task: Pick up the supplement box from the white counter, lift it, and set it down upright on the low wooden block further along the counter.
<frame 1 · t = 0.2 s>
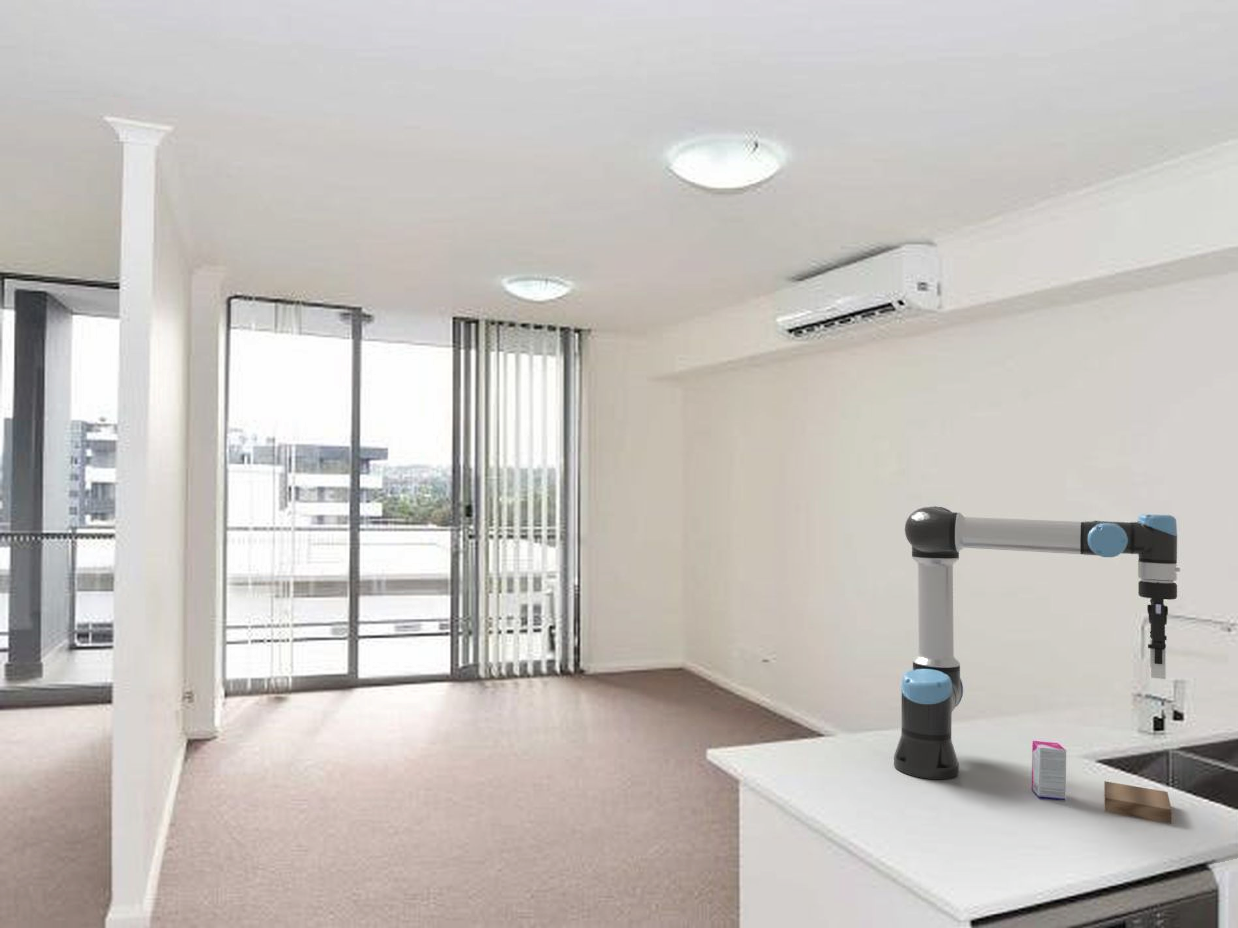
hand: (1157, 672, 189), 28 cm above the counter, fingers open, 13 cm apart
wooden block: (1136, 808, 179), on the counter
supplement box: (1048, 796, 185), on the counter
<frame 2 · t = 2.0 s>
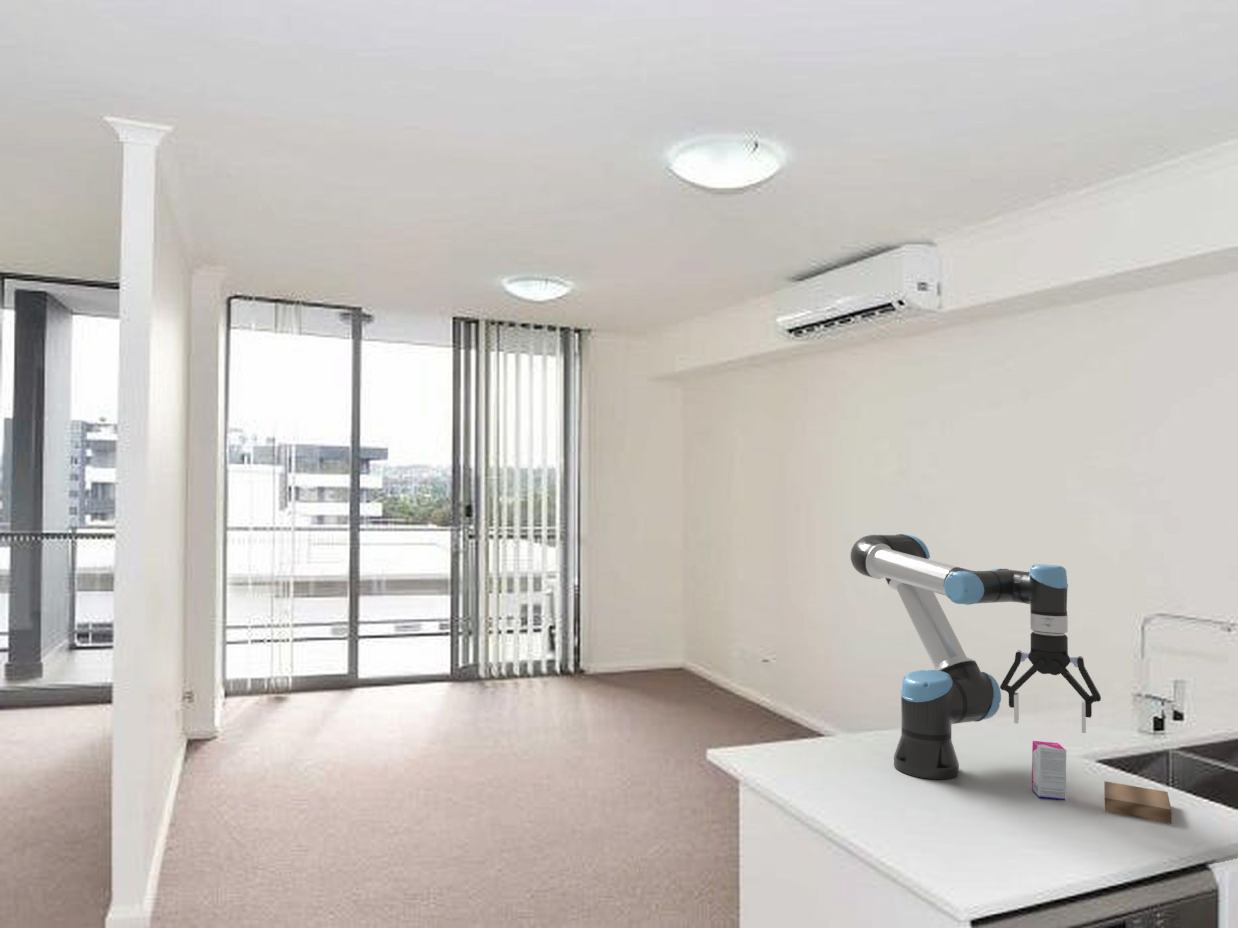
hand: (1049, 726, 186), 16 cm above the counter, fingers open, 13 cm apart
nothing on the counter moved.
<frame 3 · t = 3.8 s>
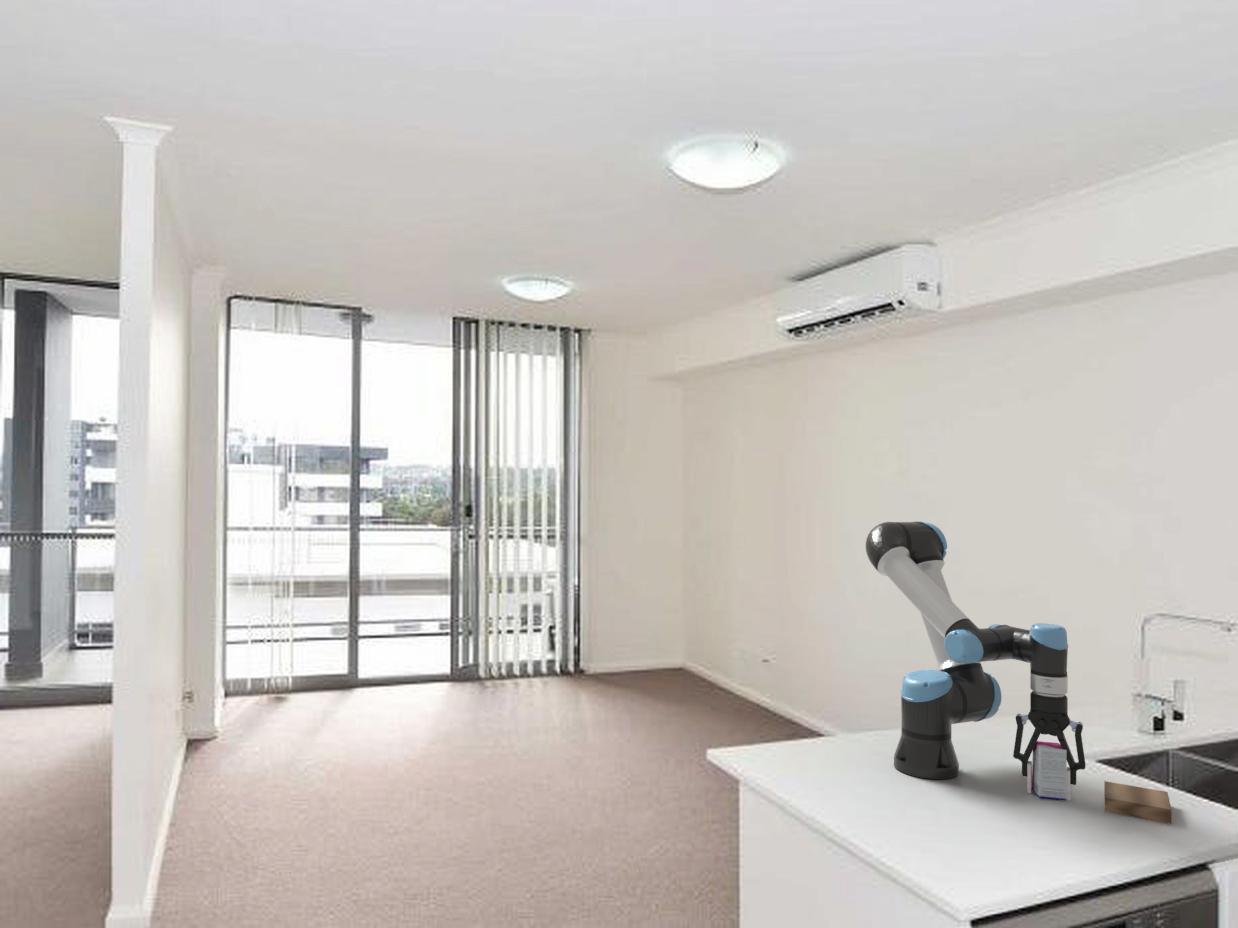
hand: (1048, 794, 185), 0 cm above the counter, fingers closed on supplement box, 7 cm apart
supplement box: (1048, 796, 185), on the counter, touching gripper
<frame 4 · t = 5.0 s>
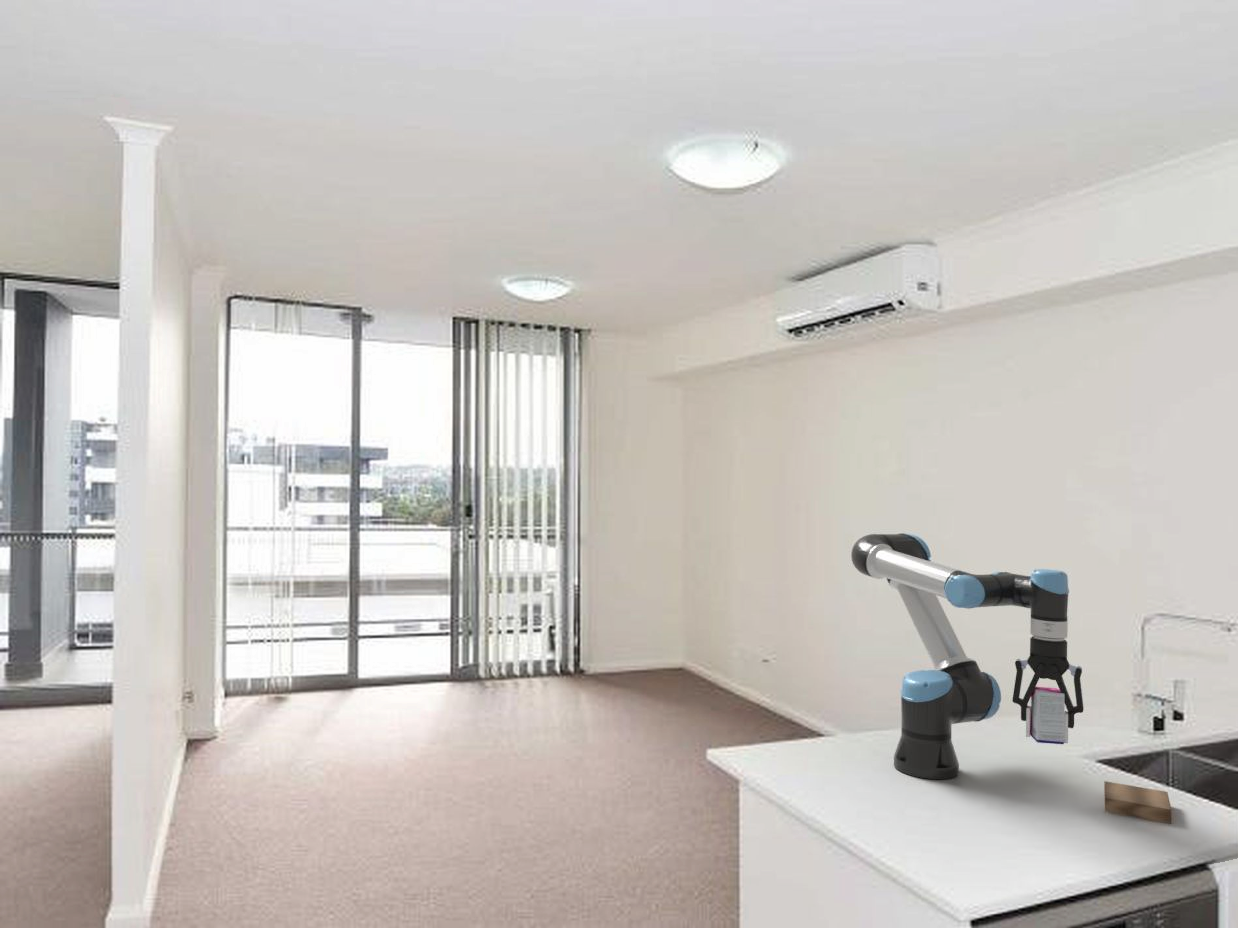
hand: (1046, 738, 186), 13 cm above the counter, fingers closed on supplement box, 7 cm apart
supplement box: (1047, 740, 186), point 12 cm above the counter, touching gripper
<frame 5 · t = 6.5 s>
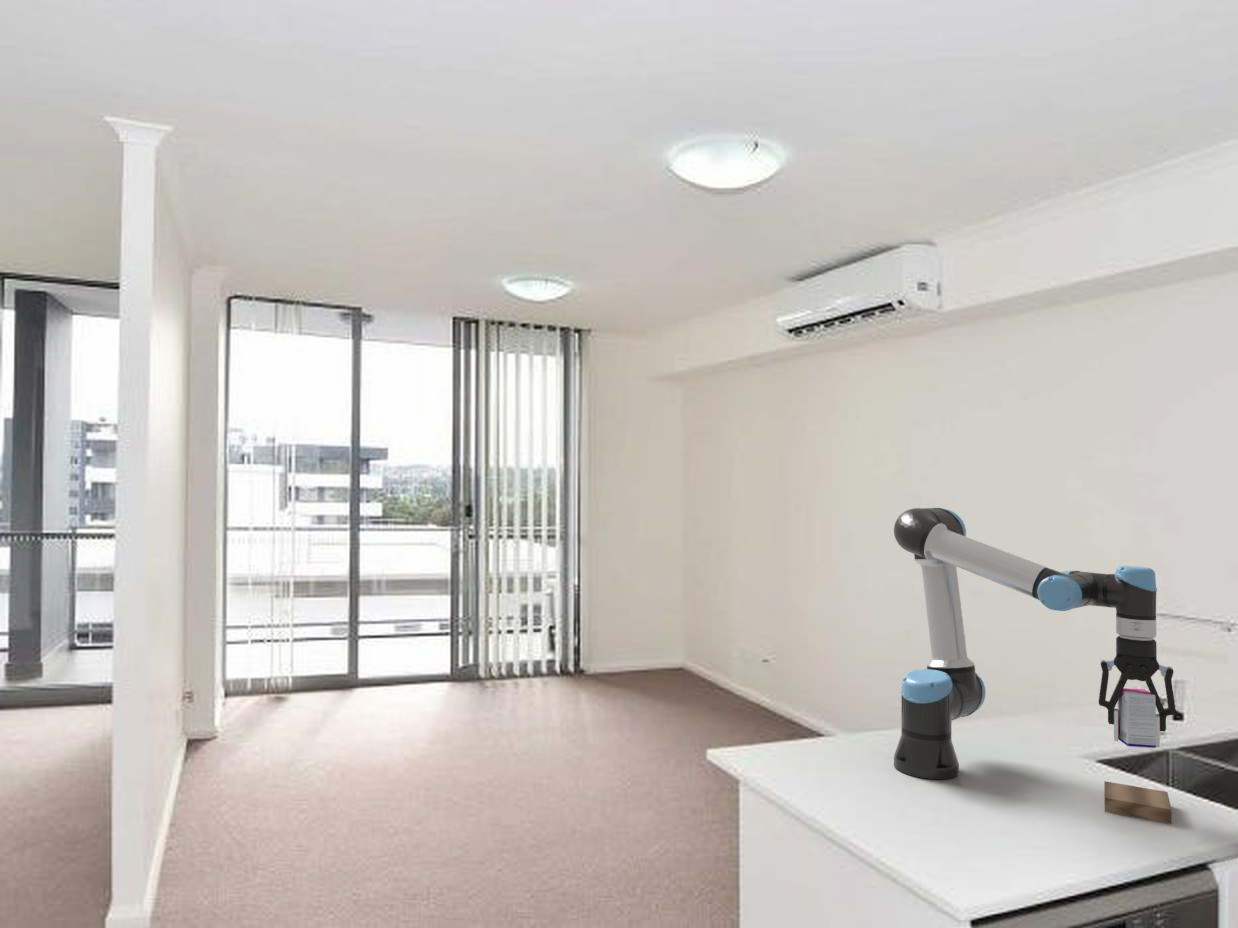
hand: (1136, 742, 179), 14 cm above the counter, fingers closed on supplement box, 7 cm apart
supplement box: (1136, 744, 179), point 14 cm above the counter, touching gripper
when the fingers open (4 cm above the counter, at t = 8.5 s): supplement box drops 1 cm, resting on wooden block.
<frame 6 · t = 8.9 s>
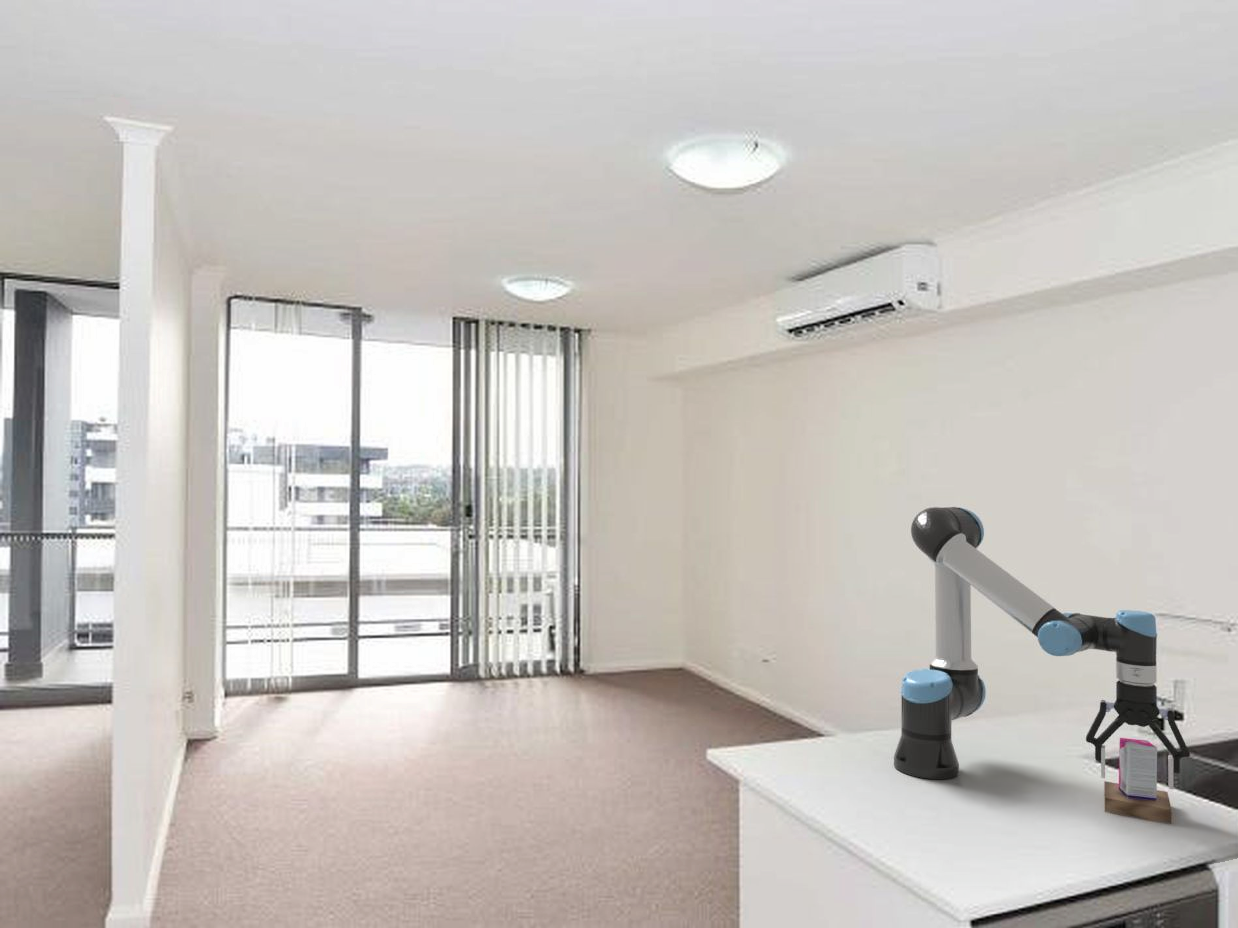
hand: (1136, 781, 179), 6 cm above the counter, fingers open, 12 cm apart
supplement box: (1137, 795, 179), point 3 cm above the counter, touching wooden block
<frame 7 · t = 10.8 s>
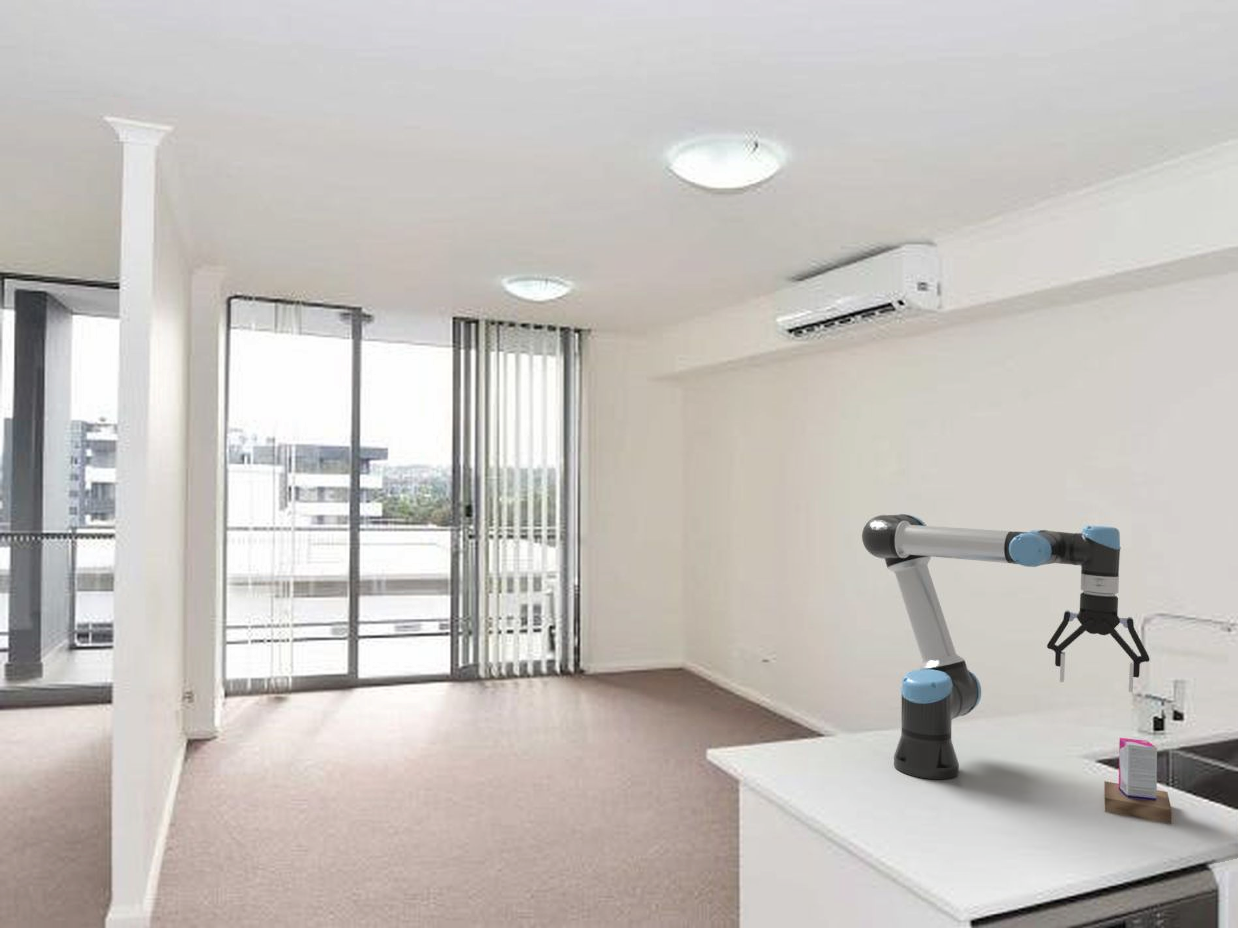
hand: (1095, 685, 187), 25 cm above the counter, fingers open, 13 cm apart
nothing on the counter moved.
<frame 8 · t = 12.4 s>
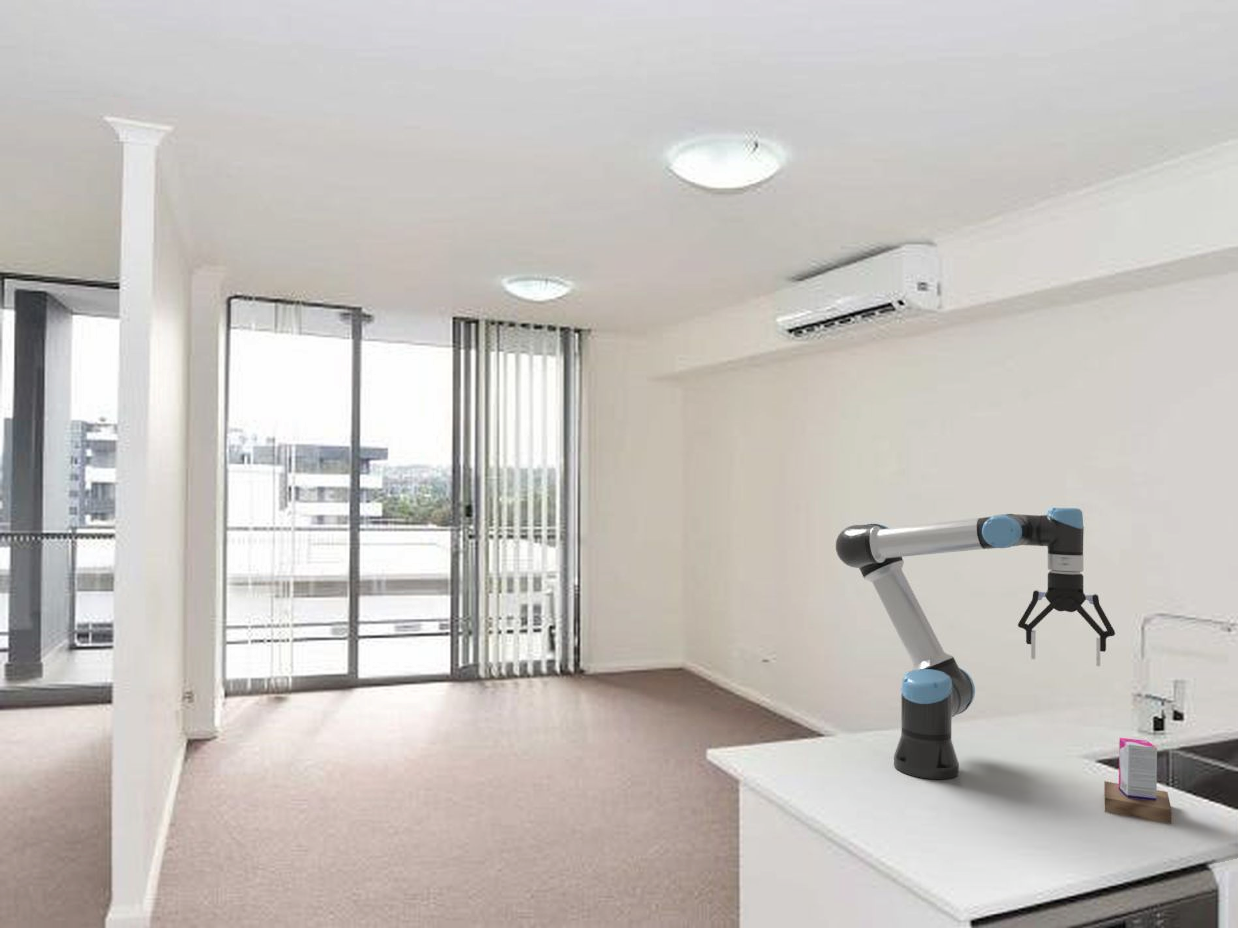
hand: (1065, 661, 194), 29 cm above the counter, fingers open, 13 cm apart
nothing on the counter moved.
at the end: supplement box inside the target area on the wooden block (0.2 cm from its centre), point 2.8 cm above the wooden block's base; supplement box tilted 0°; the gripper is holding nothing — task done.
